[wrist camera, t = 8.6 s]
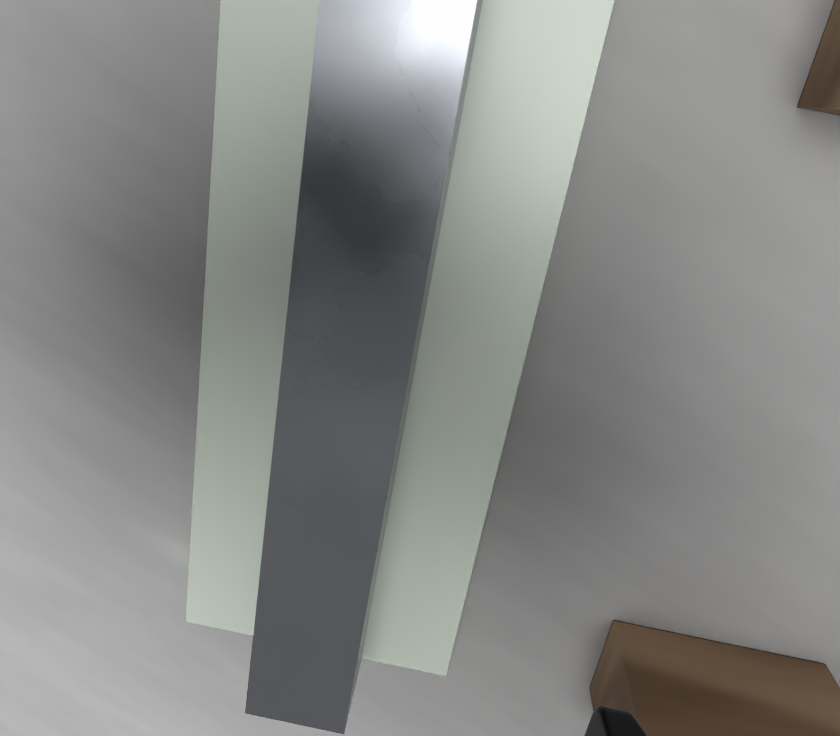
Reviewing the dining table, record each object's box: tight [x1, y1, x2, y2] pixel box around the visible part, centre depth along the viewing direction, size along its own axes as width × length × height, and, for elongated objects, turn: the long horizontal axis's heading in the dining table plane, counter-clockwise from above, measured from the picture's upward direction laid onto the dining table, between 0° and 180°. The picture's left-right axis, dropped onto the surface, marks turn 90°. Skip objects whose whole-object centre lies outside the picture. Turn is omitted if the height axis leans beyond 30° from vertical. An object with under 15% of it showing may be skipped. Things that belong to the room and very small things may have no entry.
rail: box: [245, 0, 483, 734], centre depth 17 cm, size 22×3×3 cm, turn 170°
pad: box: [186, 0, 614, 676], centre depth 19 cm, size 23×9×1 cm, turn 170°
